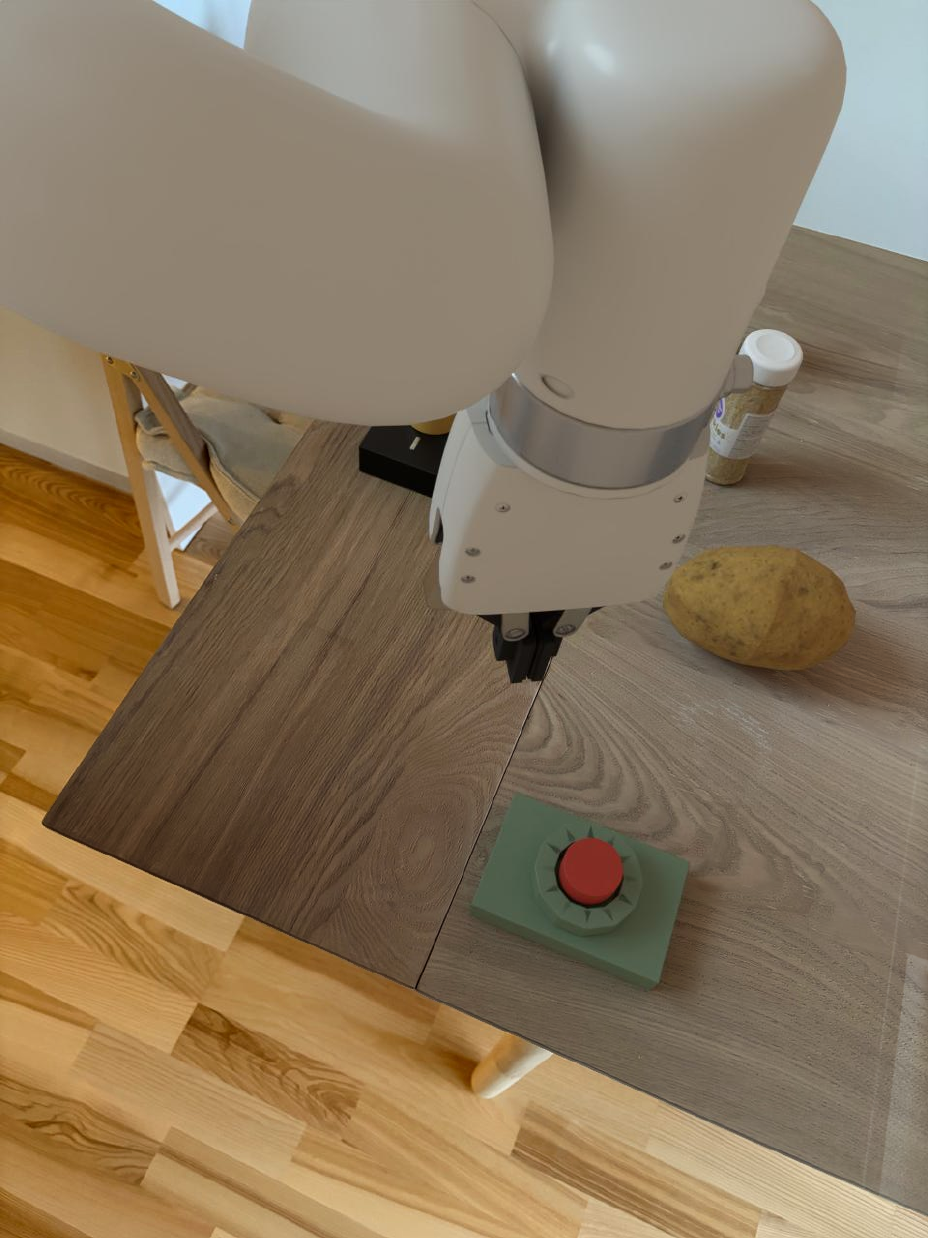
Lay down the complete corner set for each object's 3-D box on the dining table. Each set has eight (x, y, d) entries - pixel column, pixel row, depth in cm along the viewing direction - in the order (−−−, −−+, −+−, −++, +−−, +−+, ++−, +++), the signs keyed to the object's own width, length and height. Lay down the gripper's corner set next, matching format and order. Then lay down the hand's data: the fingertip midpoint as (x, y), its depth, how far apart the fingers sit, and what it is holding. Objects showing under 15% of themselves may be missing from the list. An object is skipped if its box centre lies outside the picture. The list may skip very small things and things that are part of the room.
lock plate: (452, 506, 77) (455, 480, 74) (353, 468, 78) (352, 442, 76) (504, 411, 83) (509, 384, 81) (412, 378, 85) (413, 351, 82)
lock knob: (394, 420, 77) (395, 366, 73) (421, 385, 80) (425, 331, 75) (445, 443, 77) (451, 390, 72) (472, 406, 79) (478, 353, 74)
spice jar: (686, 449, 83) (737, 327, 71) (735, 446, 83) (792, 324, 72) (702, 489, 80) (756, 369, 69) (752, 485, 81) (814, 366, 70)
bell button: (550, 891, 57) (555, 882, 55) (569, 838, 59) (574, 828, 57) (607, 914, 56) (613, 906, 55) (623, 860, 58) (630, 851, 57)
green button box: (468, 914, 59) (473, 896, 56) (510, 804, 63) (518, 780, 60) (649, 991, 58) (666, 976, 54) (681, 872, 62) (699, 852, 59)
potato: (705, 486, 68) (683, 577, 62) (883, 549, 67) (878, 647, 61) (661, 569, 76) (639, 657, 70) (821, 627, 75) (811, 720, 69)
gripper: (767, 312, 36) (642, 586, 51) (372, 320, 33) (366, 606, 49) (838, 461, 32) (679, 710, 47) (396, 483, 29) (381, 738, 45)
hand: (520, 657), depth 48 cm, fingers closed
